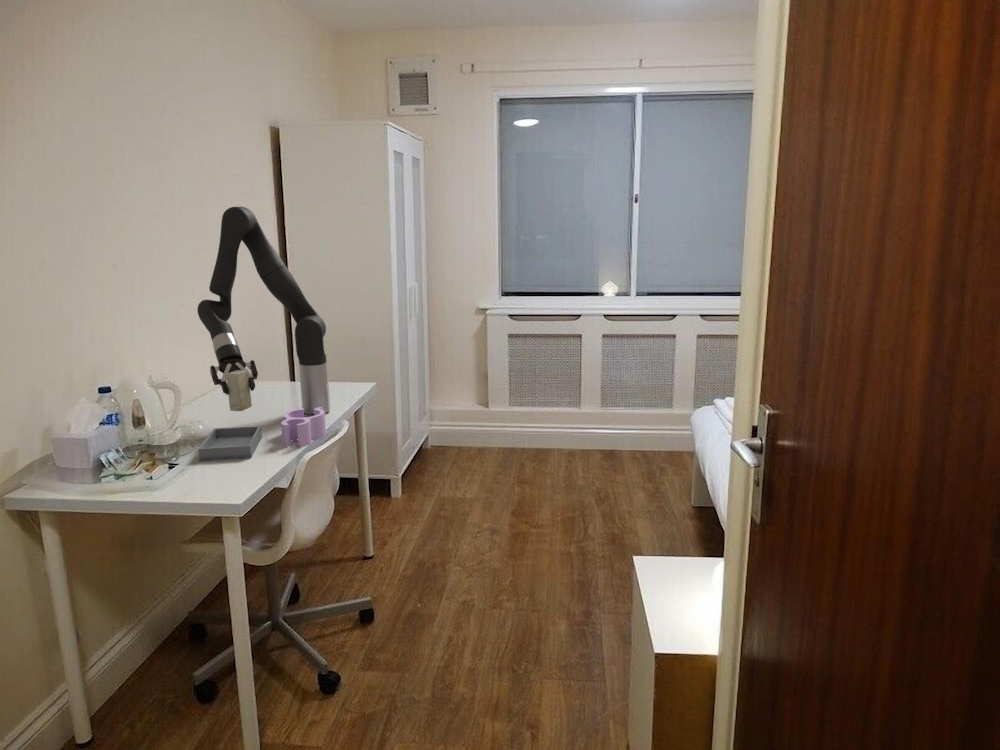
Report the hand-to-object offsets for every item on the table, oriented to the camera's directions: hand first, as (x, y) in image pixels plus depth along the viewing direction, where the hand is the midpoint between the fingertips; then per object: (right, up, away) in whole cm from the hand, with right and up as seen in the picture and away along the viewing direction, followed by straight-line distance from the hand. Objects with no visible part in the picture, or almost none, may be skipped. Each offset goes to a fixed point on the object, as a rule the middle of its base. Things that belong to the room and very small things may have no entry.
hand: (240, 391), depth 230 cm
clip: (+22, -14, -6) cm, 26 cm away
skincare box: (-1, -6, +3) cm, 6 cm away
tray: (+4, -16, -16) cm, 23 cm away
